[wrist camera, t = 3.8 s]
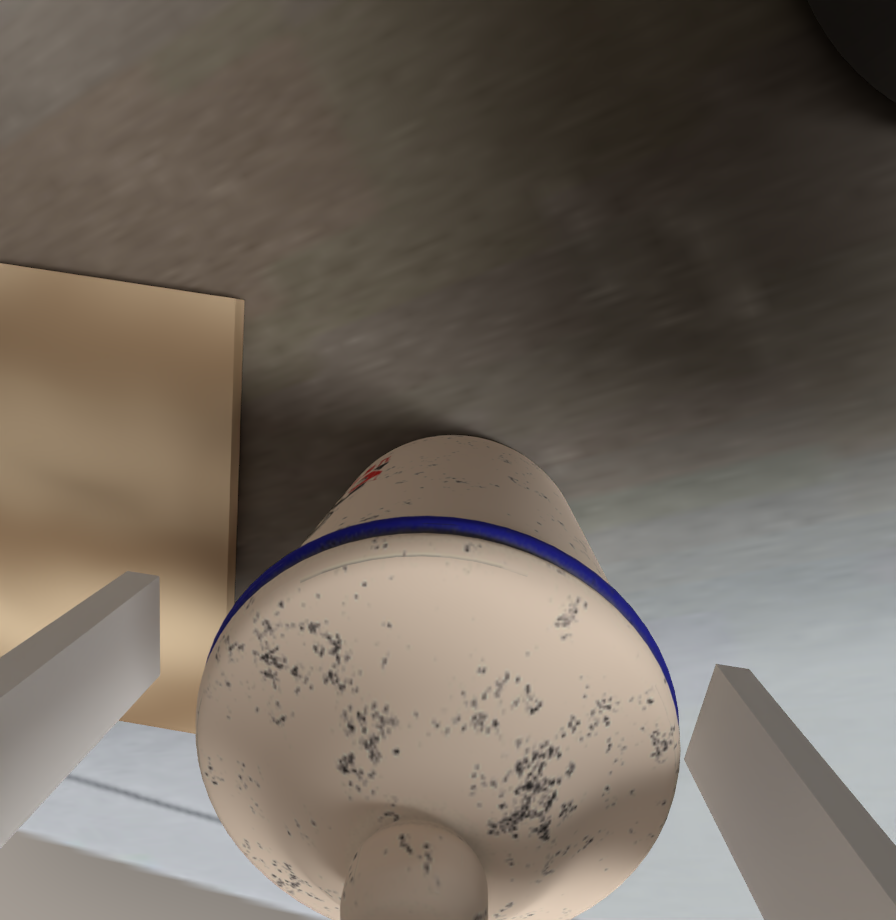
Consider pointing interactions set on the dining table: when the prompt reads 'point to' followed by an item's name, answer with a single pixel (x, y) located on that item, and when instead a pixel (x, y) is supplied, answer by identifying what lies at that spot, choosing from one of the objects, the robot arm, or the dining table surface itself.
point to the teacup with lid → (440, 702)
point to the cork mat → (120, 461)
